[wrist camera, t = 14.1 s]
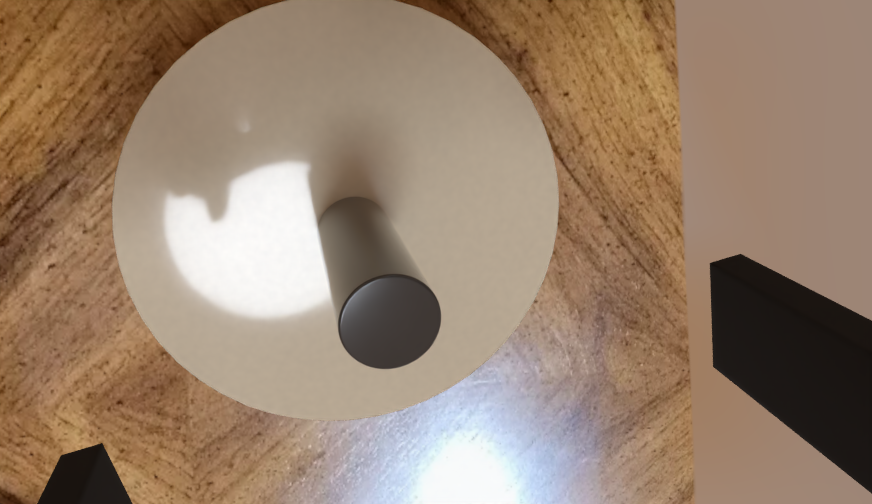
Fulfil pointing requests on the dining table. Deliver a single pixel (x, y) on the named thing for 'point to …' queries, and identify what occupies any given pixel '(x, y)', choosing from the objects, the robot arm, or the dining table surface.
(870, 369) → the robot arm
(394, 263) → the lid
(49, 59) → the dining table surface
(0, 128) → the dining table surface
